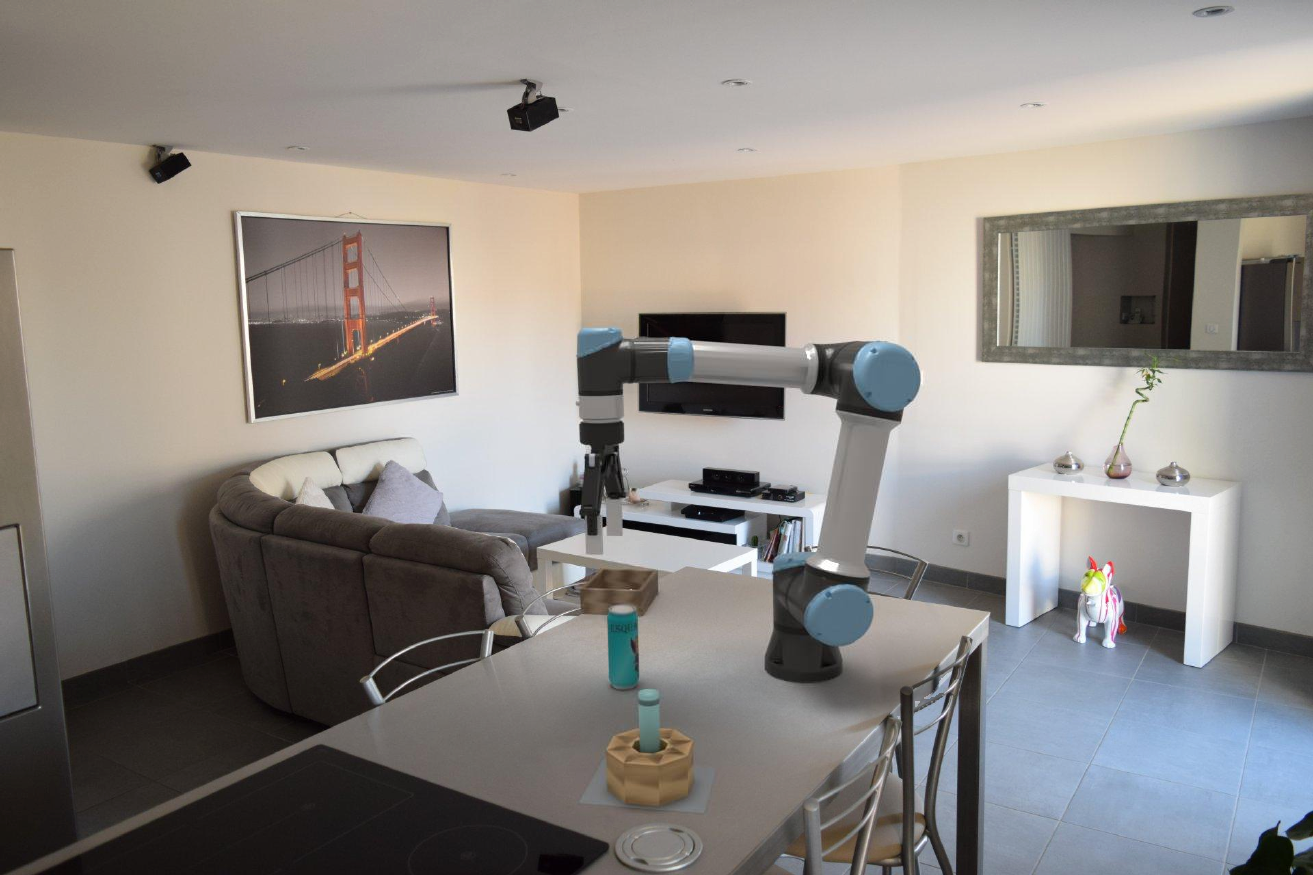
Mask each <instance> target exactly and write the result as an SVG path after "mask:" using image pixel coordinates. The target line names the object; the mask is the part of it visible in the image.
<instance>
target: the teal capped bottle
mask: <svg viewBox="0 0 1313 875" xmlns="http://www.w3.org/2000/svg"><path fill="white" fill-rule="evenodd" d="M659 692H660V691H658V689H655V688H654V689H653V688H643V689H641V690H639V691H638V692H637V695H638V696H637V704H638V728H639V741H640V753H651V754H654V753H657V752H660V728H661V727H660V725H661V724H660V693H659Z"/></svg>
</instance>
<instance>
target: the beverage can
mask: <svg viewBox="0 0 1313 875" xmlns="http://www.w3.org/2000/svg"><path fill="white" fill-rule="evenodd" d="M606 620H607V621H606V622H607V628H606V629H607V657H608V658H607V660H608V661H607V662H608V679H609V682H610V683H611V686H612V687H613V689H615V688H616V689H615V690H619V691H625V690H626V691H627V690H628V691H629V690H632V689H634V688H635V687H636V686H637V685H638V681H639V678H640V659H639V658H640V656H639V655H640V654H639V653H640V652H639V651H640V650H639V616H638V615H637V613H636V607H634V606H632V605H615V606H612V607H610V608H609V613H608V615H606Z"/></svg>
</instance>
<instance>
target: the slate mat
mask: <svg viewBox="0 0 1313 875" xmlns="http://www.w3.org/2000/svg"><path fill="white" fill-rule="evenodd" d="M693 766H694V780H693V783H692V786H691V789H690V792H689V795H688V796H686V797H684V798H681V799H678V800H675V801H672V802H670V803H667V804H664V805H661V806H651V805H638V804H626V803H624V802H623V801H621V800H620V799H619V798H617V797H616V796H615V795H614V794H612V793H611V792H610V791H609V790H607V771H606V757H604V758H603V759H602V761H601V762H600V764H599V766H598V768H597V769H596V771H595V773H594V775H593V777H592V779H591V780H590V782H589V784H588V786H587V788H586V790H585V791H584V793H583V795H582V797H581V799H580V800H579V802H578V804H581V805H591V806H593V805H594V806H604V807H616V808H626V809H627V808H629V809H638V810H650V811H651V810H652V811H663V812H677V813H685V814H686V813H687V814H700V815H705V814H706V810H707V806H708V802H709V799H710V796H711V793H712V788H713V786H714V781H715V778H716V774H717V771H718V768H719V766H713V765H703V764H702V765H701V764H700V765H699V764H693Z"/></svg>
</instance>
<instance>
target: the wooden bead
mask: <svg viewBox="0 0 1313 875" xmlns="http://www.w3.org/2000/svg"><path fill="white" fill-rule="evenodd" d="M605 759H606V771H607V790H609V791H610V792H611V793H612V794H614V795H615V796H616V797H617V798H619V799H620V800H621V801H623V802H624V803H626V804H638V805H651V806H661V805H664V804H667V803H670V802H672V801H675V800H678V799H681V798H684V797H686V796H688V795H689V792H690V789H691V786H692V783H693V780H694V766H693V765H694V740H693V739H691V738H689V737H688V736H685V735H684V734H682V733H681V732H679V731H678V730H676V729H674V728H664V727H663V728H661V727H660V752H657V753H654V754H651V753H640V741H639V727H638V728H634V729H631V730H627V731H625V732H621V733H618V734H614V735H613V737H612V738H611V740H610V742H609V744H608V746H607V747H606V749H605Z"/></svg>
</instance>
